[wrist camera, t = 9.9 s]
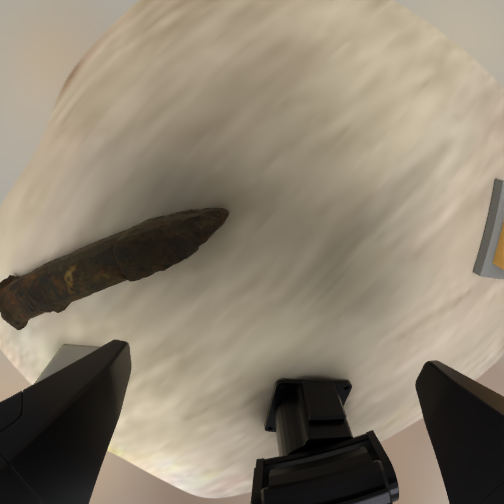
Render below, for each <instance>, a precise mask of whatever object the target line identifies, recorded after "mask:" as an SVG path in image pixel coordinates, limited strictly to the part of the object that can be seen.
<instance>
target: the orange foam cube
mask: <svg viewBox="0 0 504 504" xmlns="http://www.w3.org/2000/svg"><path fill="white" fill-rule="evenodd" d="M492 263H493V264H495V265H496V266H498V267H500V268H502V269H503V270H504V221H503V226H502V230H501V234H500V238H499V241H498V245H497V249H496V252H495V256H494V259H493V262H492Z"/></svg>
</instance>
